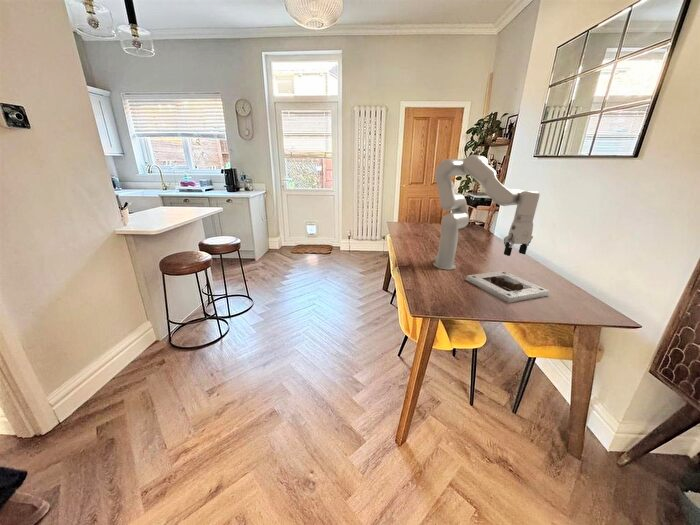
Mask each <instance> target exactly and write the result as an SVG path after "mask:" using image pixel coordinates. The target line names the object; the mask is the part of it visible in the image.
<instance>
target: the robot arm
mask: <svg viewBox="0 0 700 525" xmlns="http://www.w3.org/2000/svg"><path fill="white" fill-rule="evenodd" d="M434 175H435V176H434V177H435V182H436V186H437V191H438V197H439V204H440V206H441V209H442V211H443V210H444V211H446V212H447V211H451V212H448V213H446V214H445V215H444V216H443V217H442V219H441V221H440V222H441V223H440V226H441V227H440V239H439V245H438V251H437V255H436V254H435V256H433V259H434V260H435V261H433V266H434V267H435V268H437V269H440V270H444V271H445V270H446V271H448V270H449V271H450V270H451V271H453V270H455V269H456V268H457V267H456V264H454V263H455V257H456V251H457V247H458V242H459V241H458V240H459V232H458V230H459V229H463V228H465V227H466V226H468V224H469V221H470V214H469V211H468V203H467V199H466V198H465V196H464V195H463V194H462V193H460V192H456V189H455V184H454V181H453V180H452V178H451V177H452V176H454V177H455V176H465V175H470V176H471V177H472V178H473V179H474V180H475V181H476V182H478V183H479V184H480V186H481V188H482V189H483V191H484V193H485V194H486V195H487V197H489V198H490V199H491V200H492V201H493V202H494V203H495V204H497V205H499V206H502V207H507V206H508V207H509V206H516V209H515V212H514V215H513V216H514V218H513V221H512V222H511V225H510V228H509V231H508V235H507V236H505V237H504V238H503V244H504V252H503V255H505V256H508V257H511V255H512V254H511V253H512V250H513V246H514V245H519V249H518V253H519V254H521V255H526V252H527V250H528V246H530V245H529V244H530V243H531V242H532V239H533V238H534V235H533V229H534V222H533V221H534V217H535V214H536V211H537V207H538V203H539V199H540V196H541V194H540V192H539V191H536V190H523V189H518V188H507V187H506V186H505V185H503V183H501V182H500V181H499V180H498V178H497V171H496V170H495V169H494V168H493V167H492V166H491V165H489V161H488V158H486V156H485V155H479V154H478V155H477V154H470V155H468V156H466V157H465V158H463V159H461V158H458V159H457V158H446V159H444V160H442V161H440V163H439V164H437V166H436V168H435V174H434ZM532 235H533V236H532Z"/></svg>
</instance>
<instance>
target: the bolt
mask: <svg viewBox="0 0 700 525" xmlns="http://www.w3.org/2000/svg"><path fill="white" fill-rule="evenodd" d="M490 280H491V281H490V283H492V284H494V285H496V286H498V287H503V288H506V289H508V290H510V291H515V290H522V289H523V285H522V284H520V283H519V284H513V283H510V282H508V281H506V280H504V278H502V277H498V278H497V277H495V276H493V277H491V279H490Z"/></svg>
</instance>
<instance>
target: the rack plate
mask: <svg viewBox="0 0 700 525" xmlns="http://www.w3.org/2000/svg"><path fill="white" fill-rule="evenodd" d="M493 276H495V277H497V278H498V277H502V278H504V280H505V281H508V282H510V283H513V284H519V283H520V284H522V285H523V289H522V290H515V291H512V290H510V291H507V290H506V289H503V288H502V287H501V286H497V285H496V284H495V283H493V282H491V280H490V279H491V277H493ZM465 281H468V282H469V283H471V284H473V285H475V286H477V287H478V288H480V289H482V290H483V291H486V292H487V293H489V294H491V295H493V296H494V297H497V298H498V299H500V300H502V301H504V302H506V303H508V304H510V303H515V302H521V301H527V300H532V299H537V298H538V297H539V298H543V297H548V296H549V295H550V292H551V290H549V289H547V288H544V287H542V286H539V285H537V284H535V283H533V282H531V281H528V280H526V279H523V278H521V277H520V276H519V277H518V276H517V275H514V274H512V273H510V272H508V271H505V270H499V271H493V272H491V271H490V272H485V273H483V272H482V273H476V274H469V275H466V278H465ZM549 297H550V296H549Z"/></svg>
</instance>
